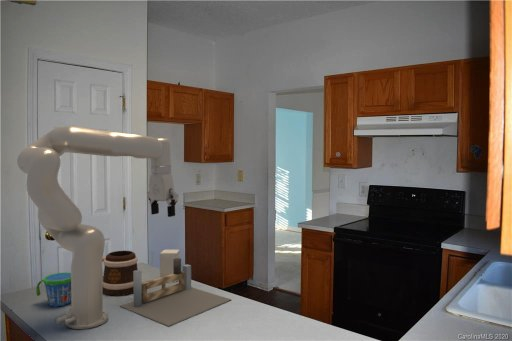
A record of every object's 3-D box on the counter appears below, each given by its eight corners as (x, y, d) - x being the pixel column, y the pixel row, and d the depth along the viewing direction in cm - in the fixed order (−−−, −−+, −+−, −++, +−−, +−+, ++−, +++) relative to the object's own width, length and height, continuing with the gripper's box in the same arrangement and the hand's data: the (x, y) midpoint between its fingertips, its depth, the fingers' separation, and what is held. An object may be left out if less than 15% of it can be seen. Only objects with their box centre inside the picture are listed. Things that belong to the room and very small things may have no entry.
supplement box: (176, 282, 173) (176, 253, 172) (159, 282, 173) (159, 253, 173) (180, 277, 180) (180, 249, 180) (163, 276, 180) (163, 249, 180)
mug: (148, 286, 167) (147, 250, 167) (123, 298, 153) (123, 259, 153) (109, 281, 174) (109, 246, 174) (83, 292, 160) (82, 254, 160)
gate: (144, 303, 145) (144, 269, 145) (139, 301, 147) (139, 267, 147) (185, 289, 161) (185, 258, 160) (180, 287, 163) (180, 257, 162)
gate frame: (136, 308, 143) (136, 272, 142) (132, 307, 145) (131, 271, 144) (191, 289, 163) (191, 258, 163) (186, 288, 165) (186, 257, 165)
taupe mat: (168, 326, 128) (168, 325, 128) (119, 306, 145) (119, 305, 145) (231, 300, 152) (231, 299, 152) (183, 285, 168) (183, 284, 168)
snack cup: (30, 309, 142) (30, 280, 142) (45, 298, 153) (45, 272, 152) (75, 309, 143) (74, 280, 142) (86, 298, 153) (86, 272, 153)
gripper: (139, 170, 155) (141, 214, 156) (168, 172, 145) (170, 219, 146) (154, 169, 161) (156, 211, 162) (184, 170, 150) (185, 215, 152)
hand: (163, 215), depth 154 cm, fingers open, 9 cm apart
